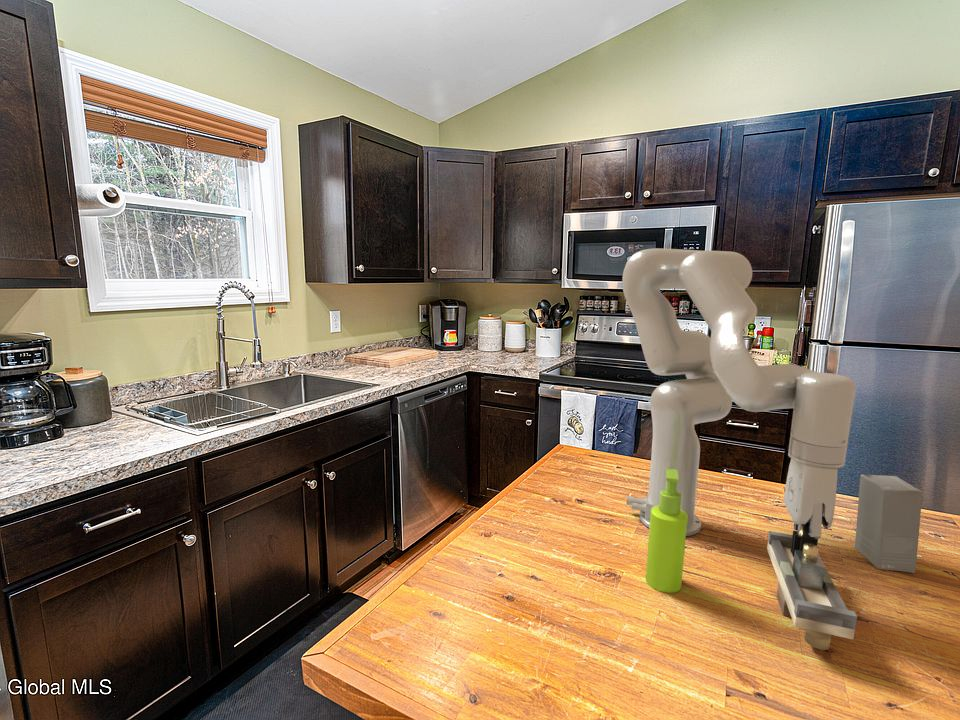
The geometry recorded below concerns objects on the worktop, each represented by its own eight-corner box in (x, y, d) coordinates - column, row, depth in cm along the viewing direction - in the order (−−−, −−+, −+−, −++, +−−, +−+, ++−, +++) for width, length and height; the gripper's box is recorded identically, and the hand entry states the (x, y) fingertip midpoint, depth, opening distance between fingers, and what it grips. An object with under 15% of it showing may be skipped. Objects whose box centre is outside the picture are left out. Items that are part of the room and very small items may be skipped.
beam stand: (791, 651, 71) (797, 604, 70) (764, 568, 92) (769, 530, 90) (849, 665, 69) (857, 616, 68) (808, 577, 89) (814, 538, 88)
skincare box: (916, 574, 91) (930, 493, 88) (871, 569, 92) (884, 489, 89) (888, 550, 99) (901, 474, 96) (848, 545, 100) (859, 471, 97)
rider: (797, 586, 77) (802, 550, 76) (791, 572, 81) (796, 538, 80) (821, 591, 76) (827, 555, 75) (814, 576, 80) (819, 542, 79)
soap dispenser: (680, 573, 90) (689, 468, 87) (682, 595, 83) (692, 483, 80) (646, 566, 92) (653, 463, 88) (645, 588, 85) (654, 478, 82)
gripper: (780, 434, 87) (768, 531, 90) (800, 463, 73) (786, 576, 76) (830, 439, 84) (816, 539, 88) (861, 471, 71) (844, 588, 74)
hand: (802, 556), depth 82 cm, fingers closed
